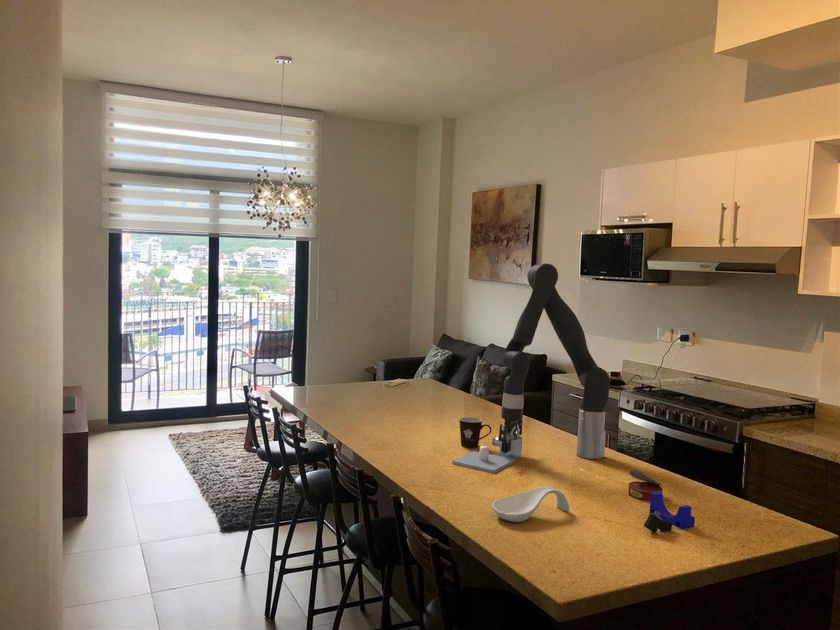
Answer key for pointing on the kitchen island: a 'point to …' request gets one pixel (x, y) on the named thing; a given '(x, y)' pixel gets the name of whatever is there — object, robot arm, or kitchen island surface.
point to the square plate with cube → (483, 460)
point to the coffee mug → (471, 431)
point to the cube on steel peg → (510, 447)
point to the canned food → (643, 486)
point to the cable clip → (678, 520)
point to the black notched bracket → (657, 523)
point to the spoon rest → (526, 504)
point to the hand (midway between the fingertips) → (509, 450)
